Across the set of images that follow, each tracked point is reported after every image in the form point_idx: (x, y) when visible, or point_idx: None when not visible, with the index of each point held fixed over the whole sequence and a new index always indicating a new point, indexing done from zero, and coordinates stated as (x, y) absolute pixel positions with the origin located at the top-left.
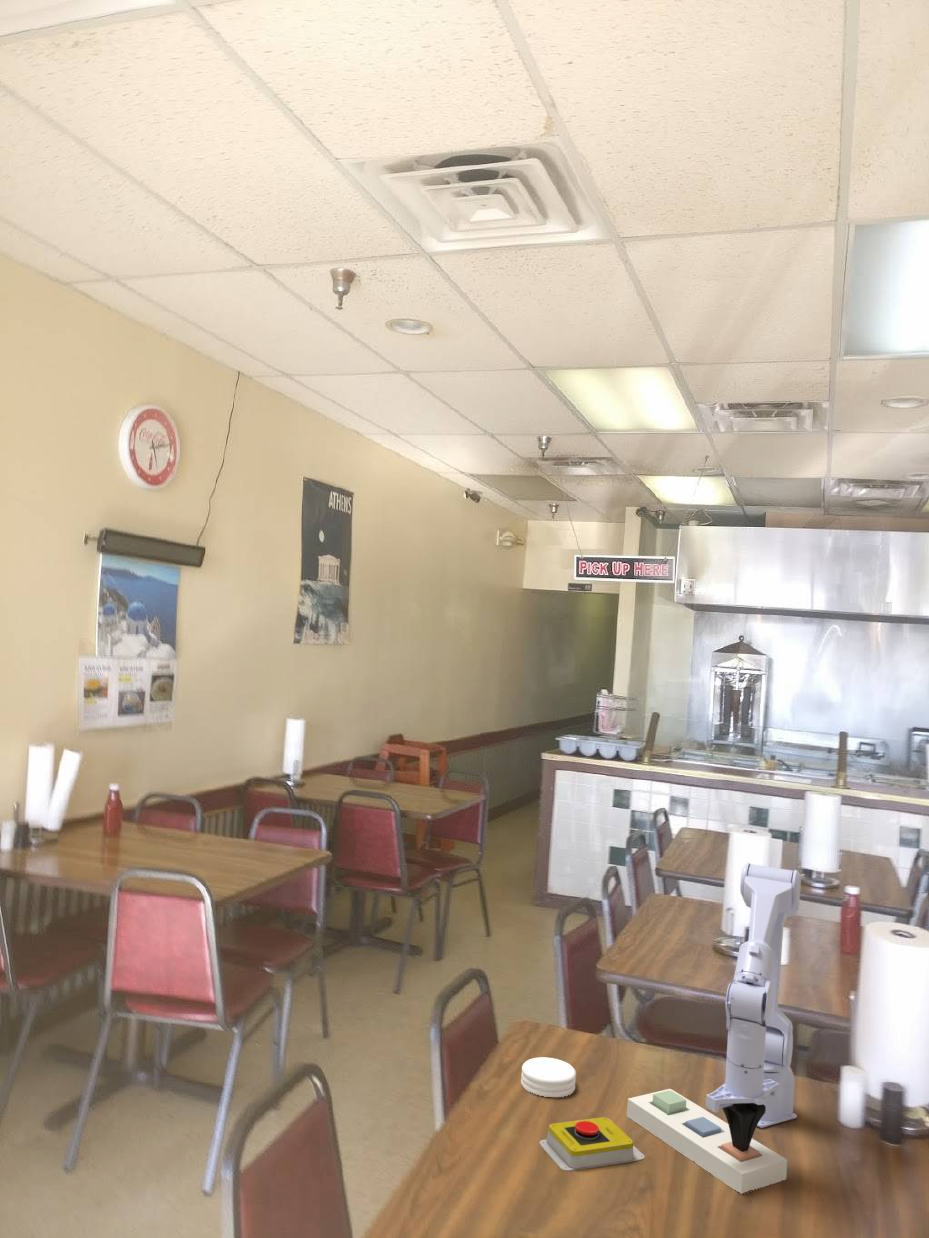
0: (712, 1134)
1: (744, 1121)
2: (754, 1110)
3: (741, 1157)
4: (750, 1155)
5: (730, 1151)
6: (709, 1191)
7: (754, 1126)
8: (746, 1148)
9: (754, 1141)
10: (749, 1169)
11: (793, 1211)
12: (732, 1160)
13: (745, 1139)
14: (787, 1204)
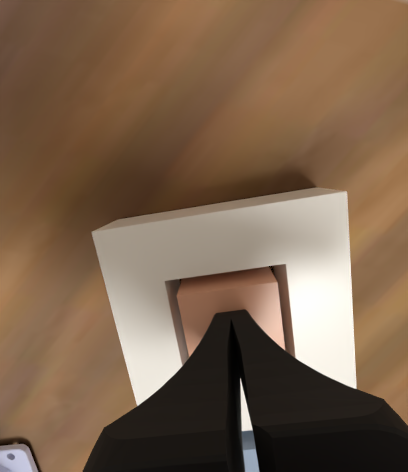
0: (246, 434)
1: (339, 383)
2: (229, 466)
3: (274, 280)
4: (224, 286)
5: (281, 327)
6: (400, 227)
7: (199, 365)
8: (227, 314)
9: (134, 363)
10: (291, 212)
11: (216, 55)
12: (310, 282)
13: (251, 328)
14: (207, 97)
